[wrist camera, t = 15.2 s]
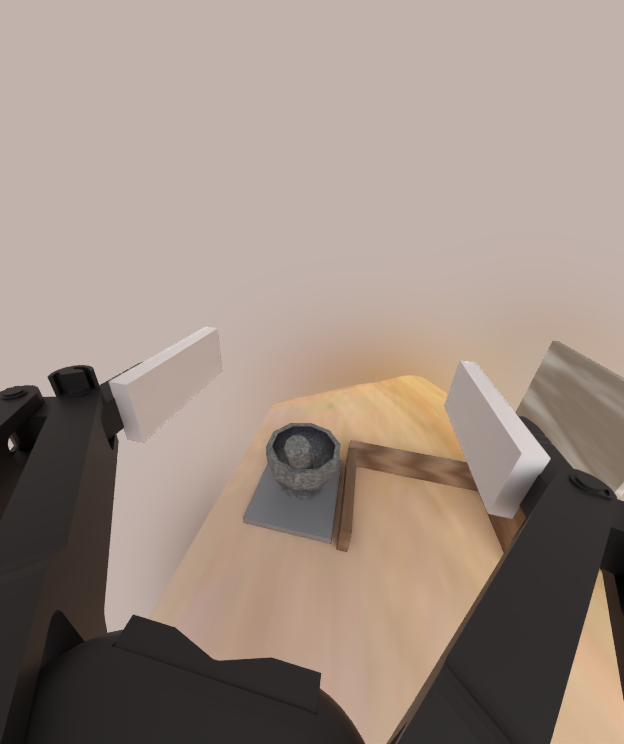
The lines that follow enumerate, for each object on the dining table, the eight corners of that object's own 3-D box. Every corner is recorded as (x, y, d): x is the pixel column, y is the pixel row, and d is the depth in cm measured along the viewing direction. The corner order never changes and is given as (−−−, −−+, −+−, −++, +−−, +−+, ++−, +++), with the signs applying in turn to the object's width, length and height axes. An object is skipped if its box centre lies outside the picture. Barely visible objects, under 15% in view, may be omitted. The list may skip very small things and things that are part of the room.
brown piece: (483, 486, 43) (561, 341, 32) (534, 598, 29) (697, 417, 18) (346, 458, 45) (373, 316, 34) (336, 549, 32) (375, 366, 21)
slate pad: (340, 463, 44) (341, 460, 44) (330, 543, 33) (331, 539, 32) (275, 450, 46) (275, 446, 45) (243, 522, 34) (243, 518, 34)
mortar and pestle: (279, 451, 44) (281, 388, 39) (336, 463, 43) (347, 399, 38) (253, 514, 34) (251, 440, 29) (326, 531, 33) (339, 458, 28)
